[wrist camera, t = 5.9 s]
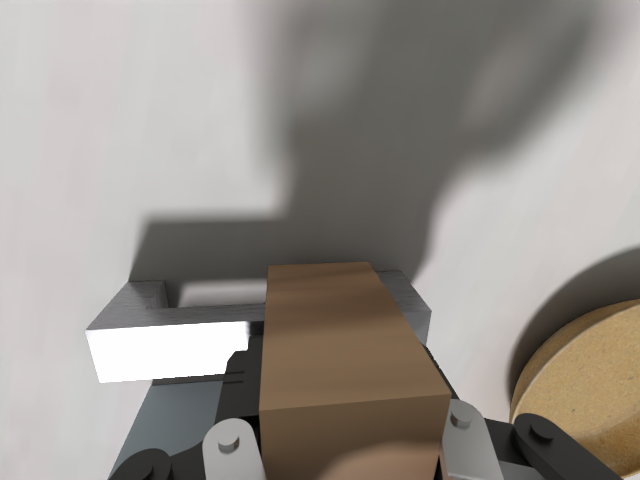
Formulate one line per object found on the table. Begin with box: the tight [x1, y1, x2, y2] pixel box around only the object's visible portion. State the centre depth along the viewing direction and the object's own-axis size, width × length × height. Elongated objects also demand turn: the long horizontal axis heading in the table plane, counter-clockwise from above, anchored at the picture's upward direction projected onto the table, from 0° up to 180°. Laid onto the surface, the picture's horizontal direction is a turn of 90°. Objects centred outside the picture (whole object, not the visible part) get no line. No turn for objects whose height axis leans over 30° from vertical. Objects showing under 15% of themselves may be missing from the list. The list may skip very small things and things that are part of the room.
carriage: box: [259, 262, 452, 480], centre depth 12 cm, size 5×4×7 cm
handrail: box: [85, 271, 432, 382], centre depth 15 cm, size 2×13×4 cm, turn 89°
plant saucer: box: [509, 299, 640, 479], centre depth 20 cm, size 15×15×3 cm
